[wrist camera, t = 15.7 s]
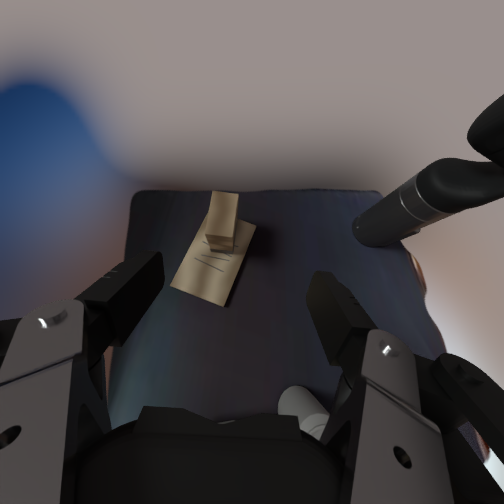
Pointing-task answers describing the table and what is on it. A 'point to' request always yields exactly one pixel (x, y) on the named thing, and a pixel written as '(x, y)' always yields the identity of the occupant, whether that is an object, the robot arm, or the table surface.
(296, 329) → the table surface
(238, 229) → the board
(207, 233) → the block
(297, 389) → the can
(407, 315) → the table surface
